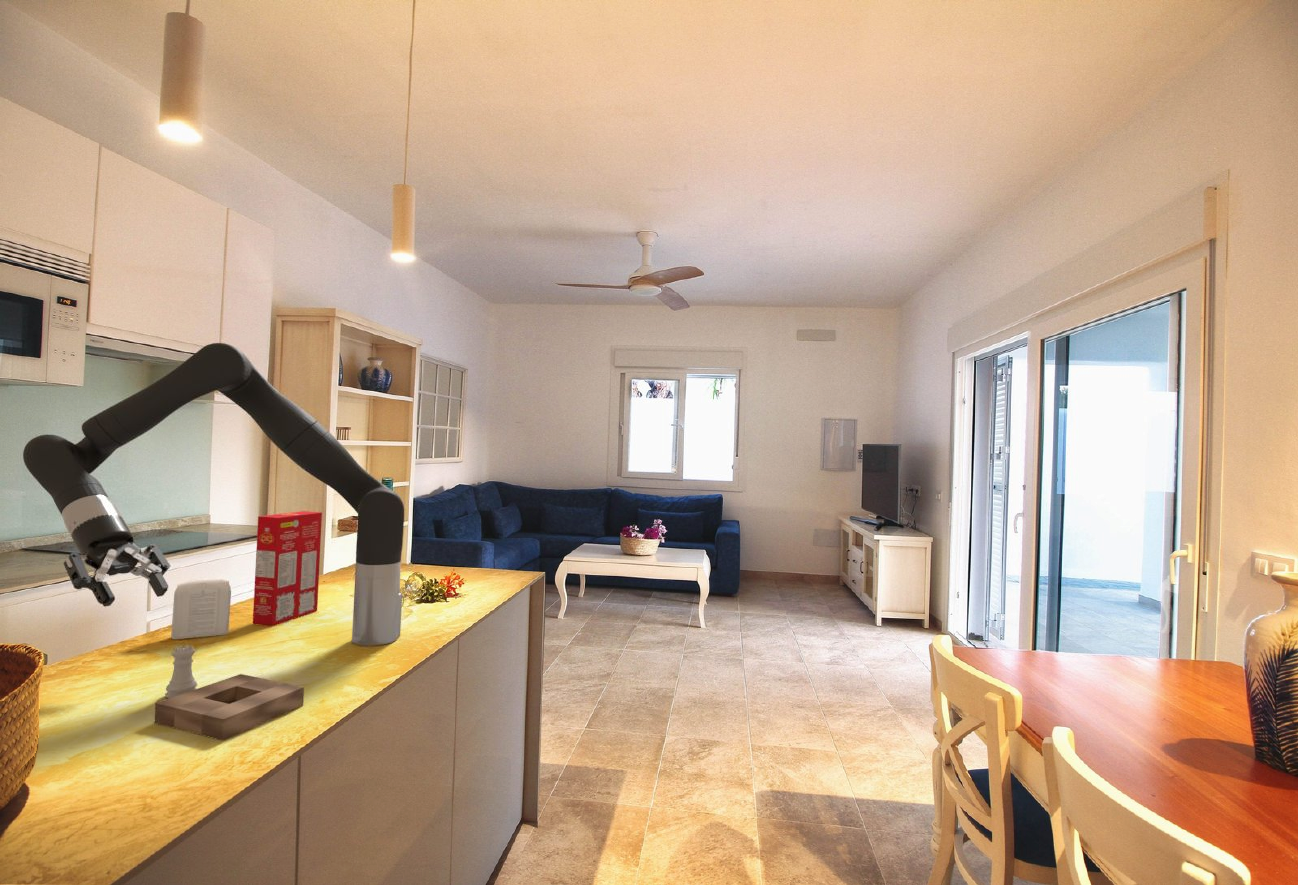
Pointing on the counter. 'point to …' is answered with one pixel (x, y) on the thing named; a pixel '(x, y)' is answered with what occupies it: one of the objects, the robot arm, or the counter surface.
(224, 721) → the socket board
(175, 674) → the rook chess piece
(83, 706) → the counter surface
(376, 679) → the counter surface
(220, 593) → the photo printer
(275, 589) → the food packaging
